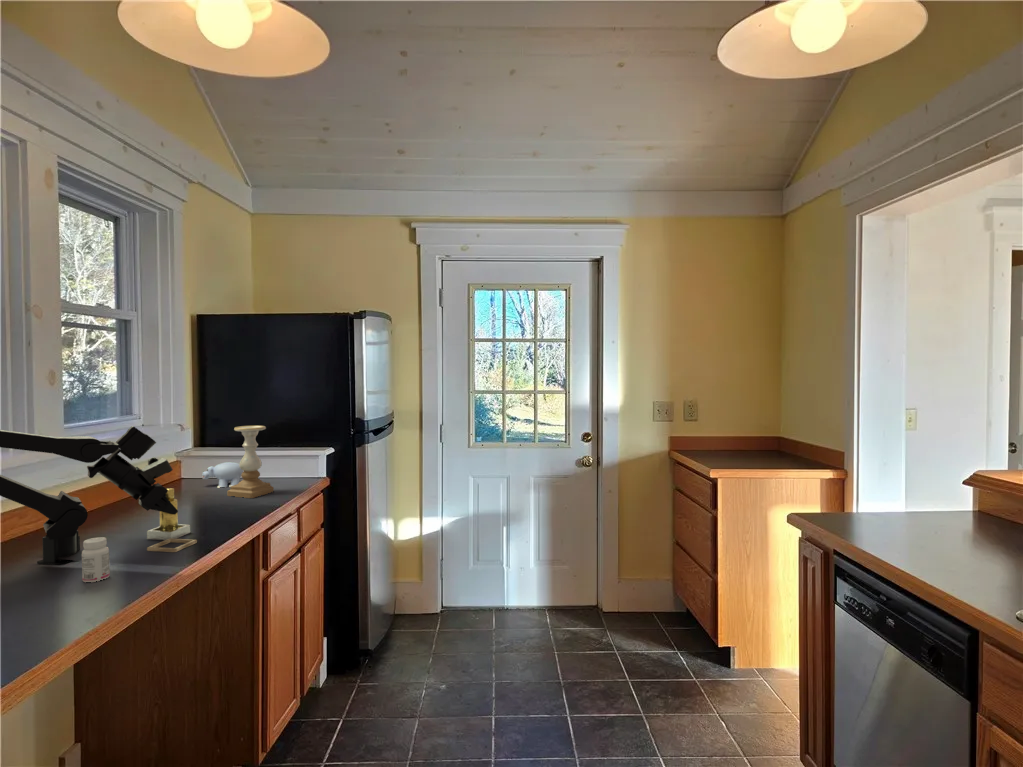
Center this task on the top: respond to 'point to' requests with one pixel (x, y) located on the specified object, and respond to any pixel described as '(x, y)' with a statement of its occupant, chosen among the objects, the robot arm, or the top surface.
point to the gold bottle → (166, 519)
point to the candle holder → (250, 467)
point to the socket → (168, 533)
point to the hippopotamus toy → (224, 473)
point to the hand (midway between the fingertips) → (174, 511)
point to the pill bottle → (95, 560)
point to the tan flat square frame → (158, 548)
